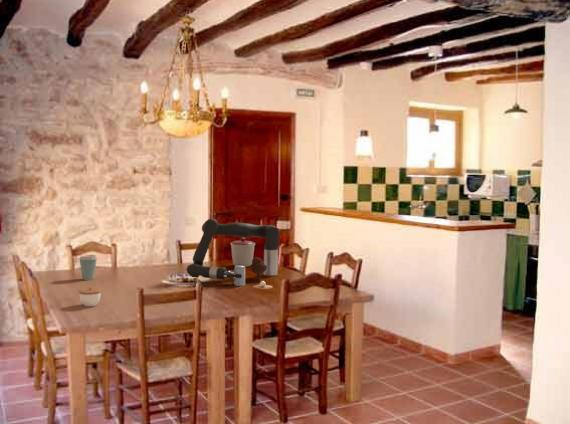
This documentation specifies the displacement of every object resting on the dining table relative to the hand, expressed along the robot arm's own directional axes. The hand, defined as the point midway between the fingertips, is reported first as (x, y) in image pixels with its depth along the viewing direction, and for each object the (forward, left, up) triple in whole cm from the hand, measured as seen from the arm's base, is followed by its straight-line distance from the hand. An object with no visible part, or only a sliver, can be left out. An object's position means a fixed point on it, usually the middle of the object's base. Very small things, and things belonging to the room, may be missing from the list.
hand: (243, 275), depth 366 cm
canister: (-65, -25, -7) cm, 70 cm away
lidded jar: (+76, -55, -7) cm, 94 cm away
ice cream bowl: (-20, +3, -7) cm, 21 cm away
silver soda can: (0, -2, -7) cm, 7 cm away
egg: (0, +13, -6) cm, 14 cm away
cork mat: (0, +13, -7) cm, 14 cm away
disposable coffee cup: (+19, -96, -7) cm, 98 cm away
